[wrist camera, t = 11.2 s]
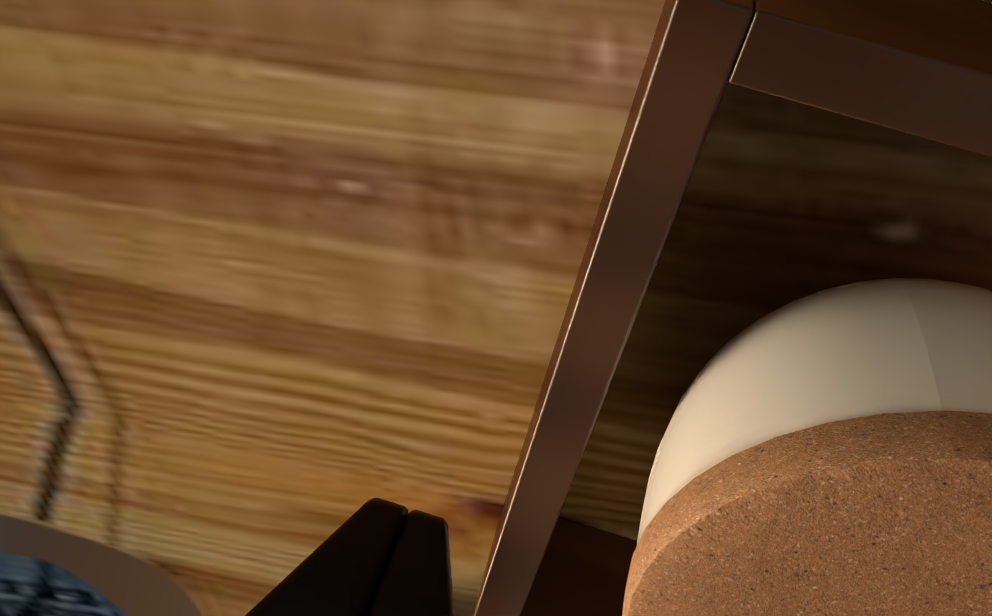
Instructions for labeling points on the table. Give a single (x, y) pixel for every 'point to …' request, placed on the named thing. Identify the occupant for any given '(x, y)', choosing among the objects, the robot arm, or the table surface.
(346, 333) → the table surface
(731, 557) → the trinket box
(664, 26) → the walnut bay
